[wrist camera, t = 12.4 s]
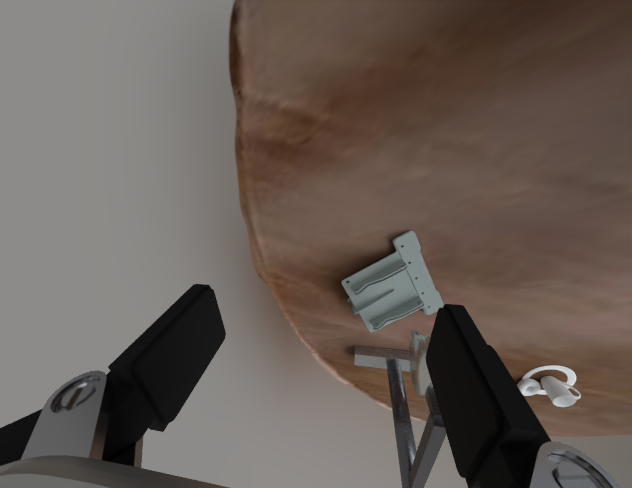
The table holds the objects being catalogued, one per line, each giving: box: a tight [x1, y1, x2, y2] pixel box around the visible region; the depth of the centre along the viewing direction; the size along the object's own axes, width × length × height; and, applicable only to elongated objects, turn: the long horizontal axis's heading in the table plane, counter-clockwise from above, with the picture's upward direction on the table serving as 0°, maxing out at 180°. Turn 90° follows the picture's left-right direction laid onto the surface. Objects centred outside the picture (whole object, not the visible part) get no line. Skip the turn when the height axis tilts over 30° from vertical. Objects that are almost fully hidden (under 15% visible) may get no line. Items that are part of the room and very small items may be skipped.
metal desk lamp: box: [354, 330, 447, 488], centre depth 32 cm, size 20×14×19 cm
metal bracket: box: [341, 230, 443, 332], centre depth 36 cm, size 14×6×15 cm
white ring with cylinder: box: [517, 365, 581, 407], centre depth 39 cm, size 9×8×4 cm
